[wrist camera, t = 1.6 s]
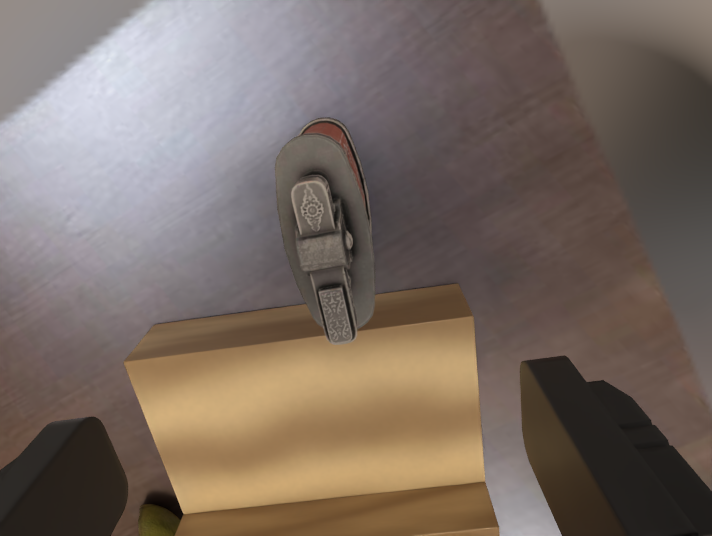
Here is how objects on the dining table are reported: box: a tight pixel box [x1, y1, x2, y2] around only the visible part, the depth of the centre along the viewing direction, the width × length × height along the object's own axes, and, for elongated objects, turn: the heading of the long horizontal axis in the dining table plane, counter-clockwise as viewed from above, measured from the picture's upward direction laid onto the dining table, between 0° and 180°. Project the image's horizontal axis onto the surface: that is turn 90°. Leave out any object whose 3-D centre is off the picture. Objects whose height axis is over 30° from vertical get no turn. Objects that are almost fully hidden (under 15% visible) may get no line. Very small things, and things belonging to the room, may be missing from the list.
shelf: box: [124, 284, 500, 536], centre depth 27 cm, size 12×18×7 cm, turn 99°
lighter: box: [275, 117, 375, 345], centre depth 21 cm, size 8×3×10 cm, turn 11°
